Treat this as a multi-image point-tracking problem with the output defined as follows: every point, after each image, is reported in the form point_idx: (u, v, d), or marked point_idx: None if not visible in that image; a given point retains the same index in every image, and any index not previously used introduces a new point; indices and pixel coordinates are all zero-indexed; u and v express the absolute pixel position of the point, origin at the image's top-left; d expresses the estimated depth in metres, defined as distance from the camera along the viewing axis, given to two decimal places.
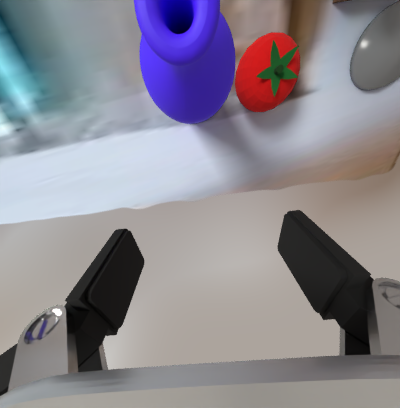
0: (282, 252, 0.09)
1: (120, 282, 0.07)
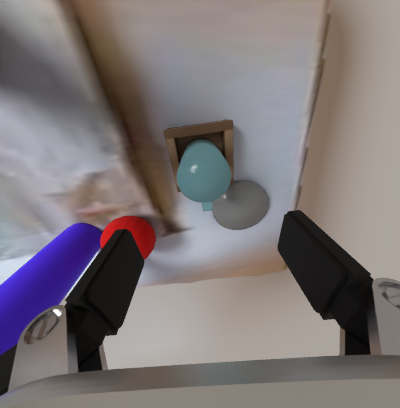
0: (282, 252, 0.09)
1: (120, 282, 0.07)
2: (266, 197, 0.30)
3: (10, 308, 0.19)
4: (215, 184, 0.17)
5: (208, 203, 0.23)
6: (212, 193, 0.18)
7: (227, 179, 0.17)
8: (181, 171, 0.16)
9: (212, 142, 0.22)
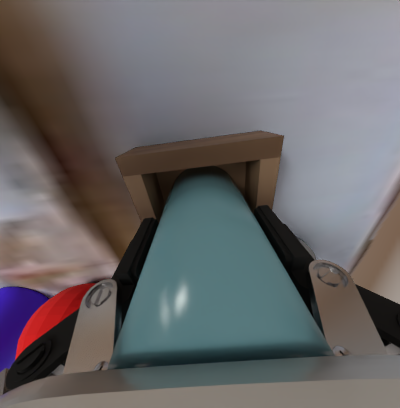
0: None
1: None
2: None
3: None
4: None
5: None
6: None
7: None
8: None
9: (230, 182, 0.10)
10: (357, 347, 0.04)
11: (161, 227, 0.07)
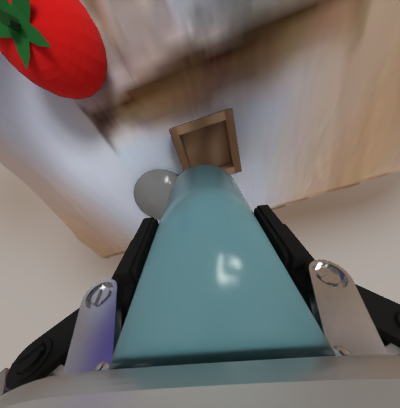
0: None
1: None
2: None
3: None
4: None
5: None
6: None
7: None
8: (125, 368, 0.04)
9: (230, 182, 0.10)
10: (357, 347, 0.04)
11: (162, 227, 0.07)
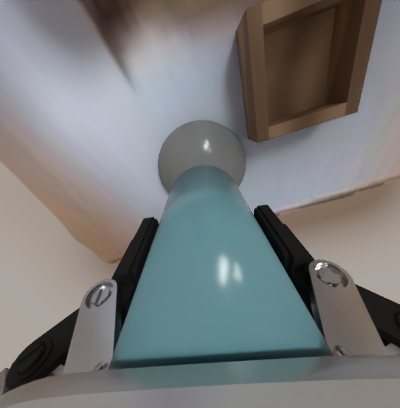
0: None
1: None
2: None
3: None
4: None
5: None
6: None
7: None
8: None
9: (230, 183, 0.10)
10: (357, 347, 0.04)
11: (161, 228, 0.07)
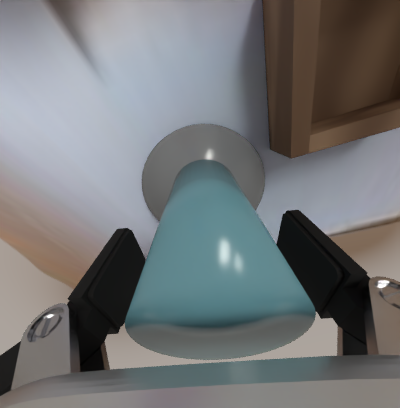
0: (281, 251, 0.09)
1: (122, 281, 0.07)
2: None
3: None
4: (253, 338, 0.05)
5: None
6: (240, 349, 0.06)
7: (295, 330, 0.05)
8: (139, 320, 0.04)
9: (229, 174, 0.11)
10: None
11: (166, 212, 0.08)
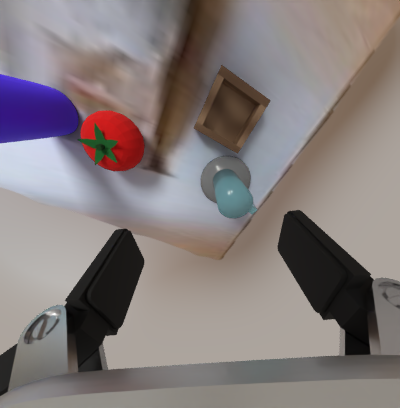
0: (282, 252, 0.09)
1: (120, 282, 0.07)
2: (248, 184, 0.36)
3: None
4: (243, 201, 0.26)
5: (251, 208, 0.31)
6: (246, 206, 0.26)
7: (247, 194, 0.25)
8: (221, 209, 0.26)
9: (225, 172, 0.32)
10: None
11: (215, 194, 0.30)
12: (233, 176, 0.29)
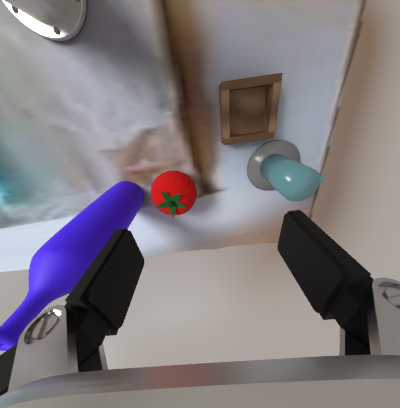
0: (282, 252, 0.09)
1: (120, 282, 0.07)
2: (298, 156, 0.34)
3: (94, 227, 0.22)
4: (308, 179, 0.25)
5: None
6: (314, 182, 0.25)
7: (309, 171, 0.24)
8: (288, 197, 0.27)
9: (270, 161, 0.31)
10: None
11: (273, 186, 0.30)
12: (282, 160, 0.29)
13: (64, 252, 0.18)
